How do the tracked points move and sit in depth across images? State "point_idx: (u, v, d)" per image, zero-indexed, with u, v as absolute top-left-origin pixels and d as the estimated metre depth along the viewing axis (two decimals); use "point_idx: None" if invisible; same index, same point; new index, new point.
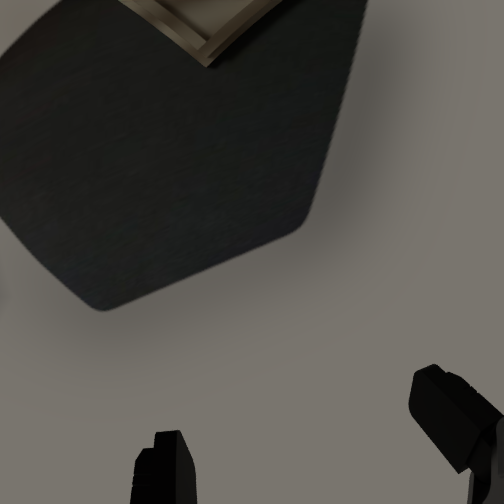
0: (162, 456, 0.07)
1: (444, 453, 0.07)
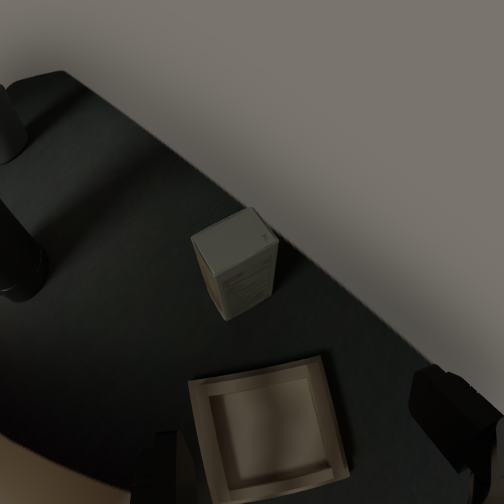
0: (162, 456, 0.07)
1: (444, 453, 0.07)
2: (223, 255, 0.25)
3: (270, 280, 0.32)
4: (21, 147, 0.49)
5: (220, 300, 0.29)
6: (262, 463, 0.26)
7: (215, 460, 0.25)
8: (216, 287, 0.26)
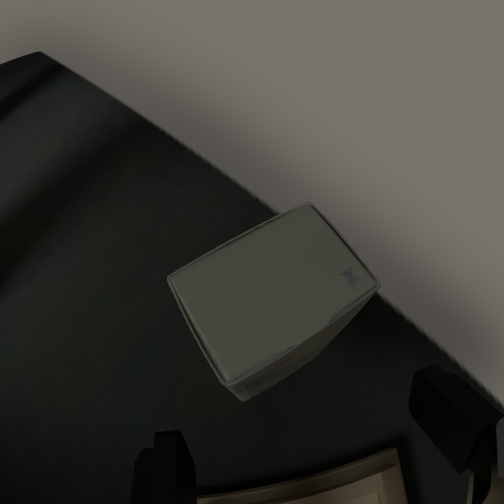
0: (162, 456, 0.07)
1: (444, 453, 0.07)
2: (250, 327, 0.09)
3: (328, 342, 0.16)
4: None
5: None
6: None
7: None
8: (231, 391, 0.11)
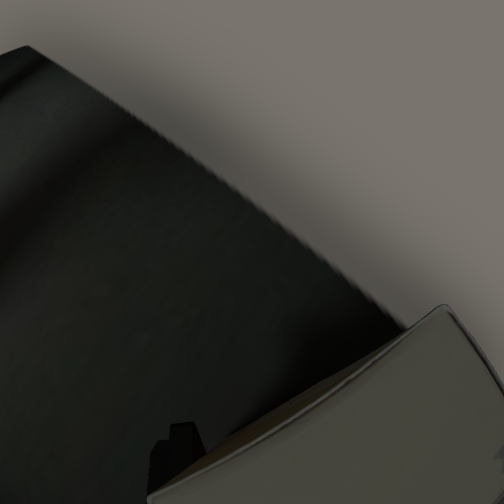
0: (178, 447, 0.07)
1: None
2: None
3: None
4: None
5: None
6: None
7: None
8: None
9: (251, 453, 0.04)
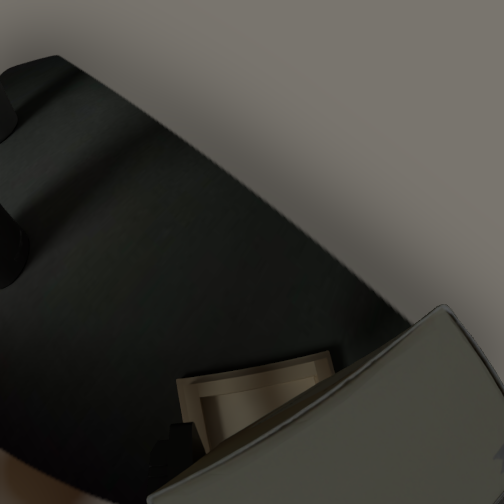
0: (178, 447, 0.07)
1: None
2: None
3: None
4: (10, 129, 0.45)
5: None
6: None
7: None
8: None
9: (250, 453, 0.04)
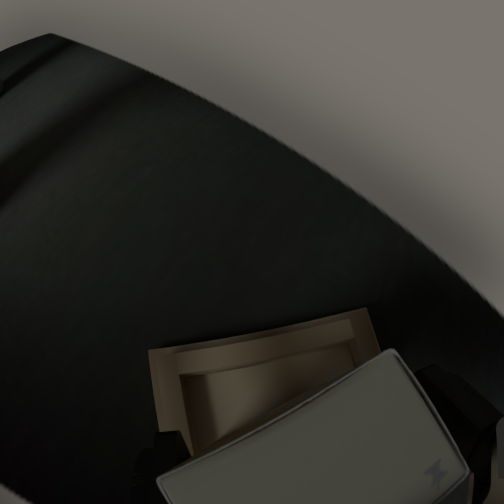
0: (162, 456, 0.07)
1: None
2: None
3: None
4: None
5: None
6: None
7: None
8: None
9: (232, 449, 0.05)
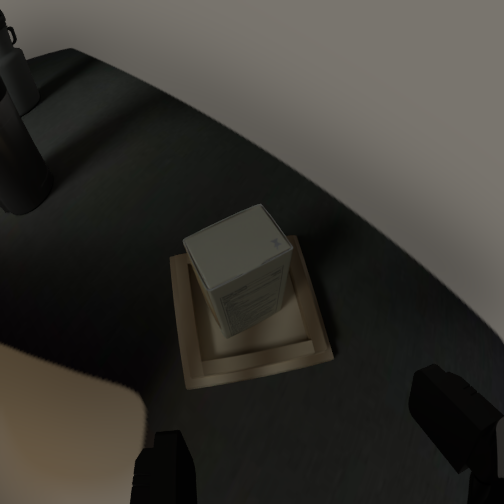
0: (162, 456, 0.07)
1: (444, 453, 0.07)
2: (222, 264, 0.20)
3: (280, 294, 0.26)
4: (33, 103, 0.53)
5: (218, 318, 0.24)
6: (239, 337, 0.29)
7: (190, 326, 0.28)
8: (213, 303, 0.21)
9: (207, 229, 0.21)
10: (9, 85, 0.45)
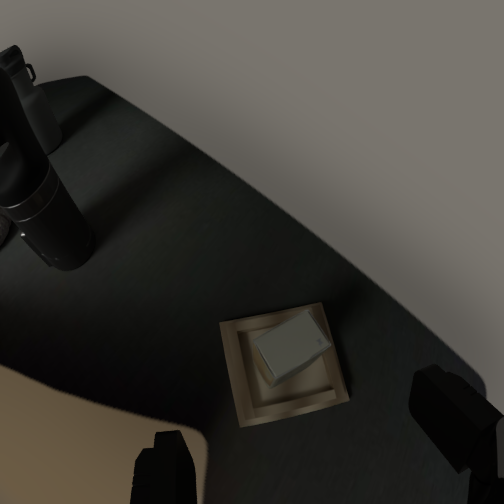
0: (162, 456, 0.07)
1: (444, 453, 0.07)
2: (283, 359, 0.27)
3: (314, 361, 0.34)
4: (57, 143, 0.60)
5: (272, 384, 0.31)
6: (279, 387, 0.37)
7: (242, 382, 0.36)
8: (273, 381, 0.28)
9: (270, 331, 0.28)
10: (32, 126, 0.52)
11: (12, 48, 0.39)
